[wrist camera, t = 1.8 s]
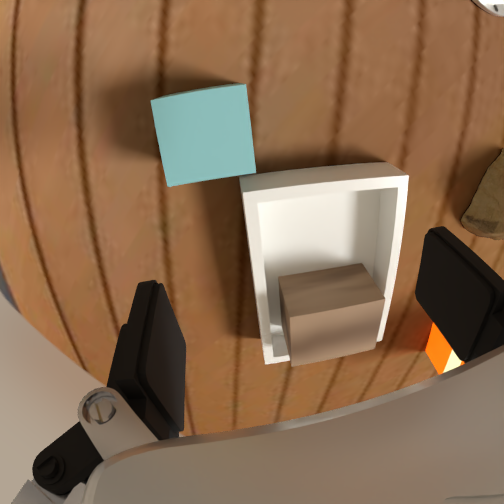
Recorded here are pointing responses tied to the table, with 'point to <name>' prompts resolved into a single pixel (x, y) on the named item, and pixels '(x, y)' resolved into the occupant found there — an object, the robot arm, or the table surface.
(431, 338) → the orange juice
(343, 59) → the table surface
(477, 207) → the rock
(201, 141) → the teal box
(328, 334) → the walnut block
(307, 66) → the table surface
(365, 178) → the white tray
